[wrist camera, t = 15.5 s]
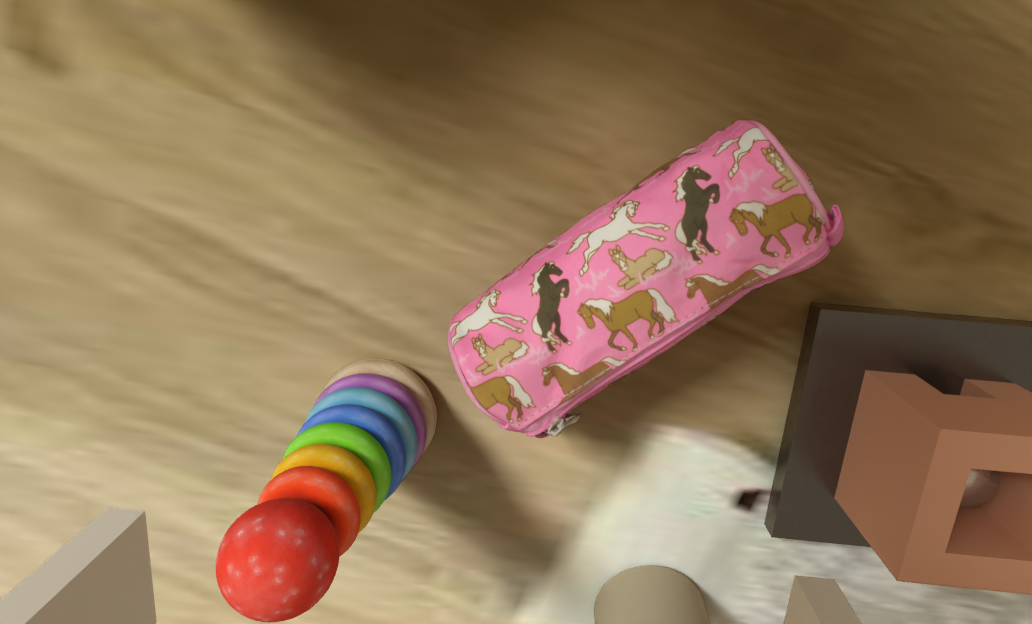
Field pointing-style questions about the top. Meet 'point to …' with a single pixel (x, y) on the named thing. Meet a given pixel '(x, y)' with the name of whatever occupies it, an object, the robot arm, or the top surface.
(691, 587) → the travel mug
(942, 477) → the hollow square tube
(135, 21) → the top surface
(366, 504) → the stacking toy
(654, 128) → the top surface
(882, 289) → the top surface
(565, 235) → the pencil case
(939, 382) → the post plate
